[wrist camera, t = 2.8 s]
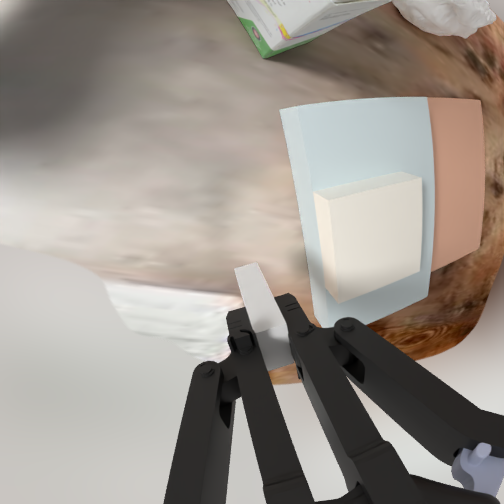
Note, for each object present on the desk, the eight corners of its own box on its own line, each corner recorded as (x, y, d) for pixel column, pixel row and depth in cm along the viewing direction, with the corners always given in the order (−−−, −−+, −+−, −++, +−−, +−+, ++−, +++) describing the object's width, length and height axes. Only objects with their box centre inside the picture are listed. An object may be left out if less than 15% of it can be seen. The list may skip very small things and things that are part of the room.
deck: (279, 109, 21) (296, 106, 17) (398, 97, 22) (426, 96, 18) (314, 315, 29) (329, 339, 26) (406, 279, 30) (427, 296, 27)
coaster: (312, 191, 20) (328, 200, 17) (401, 171, 20) (421, 177, 18) (325, 287, 23) (338, 303, 21) (402, 258, 24) (419, 271, 21)
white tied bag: (352, -10, 18) (402, 17, 13) (379, -59, 12) (442, -51, 6) (436, 40, 21) (492, 89, 16) (462, 0, 15) (528, 39, 9)
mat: (398, 97, 22) (402, 97, 21) (477, 99, 23) (480, 100, 22) (406, 279, 30) (409, 281, 30) (476, 246, 31) (479, 248, 31)
